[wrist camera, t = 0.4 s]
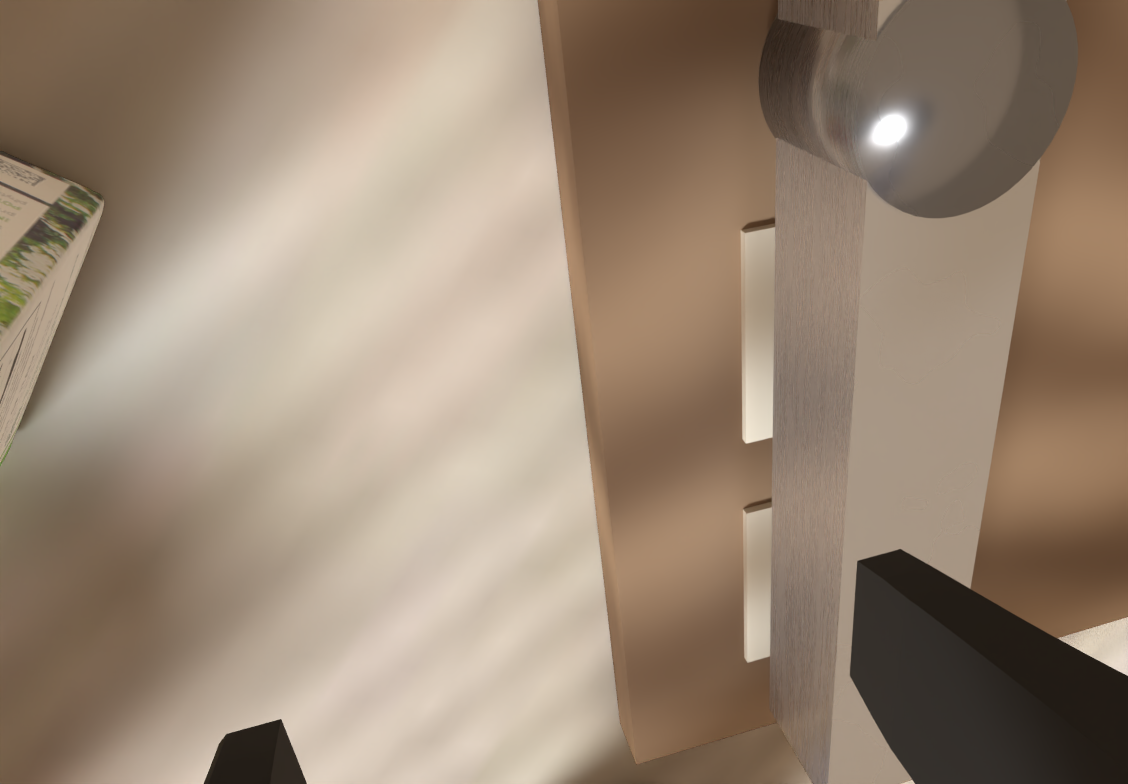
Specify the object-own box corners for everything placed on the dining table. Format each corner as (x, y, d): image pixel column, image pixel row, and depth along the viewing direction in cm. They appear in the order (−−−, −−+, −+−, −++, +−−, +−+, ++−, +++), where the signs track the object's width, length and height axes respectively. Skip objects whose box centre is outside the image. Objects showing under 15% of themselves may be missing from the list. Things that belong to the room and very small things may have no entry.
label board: (1092, 584, 28) (1142, 627, 27) (620, 722, 26) (642, 780, 24) (1276, -133, 18) (1374, -138, 17) (534, -28, 16) (562, -20, 14)
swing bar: (758, -33, 14) (864, -20, 12) (955, -62, 15) (1099, -57, 12) (757, 709, 23) (817, 814, 21) (880, 672, 24) (954, 770, 21)
